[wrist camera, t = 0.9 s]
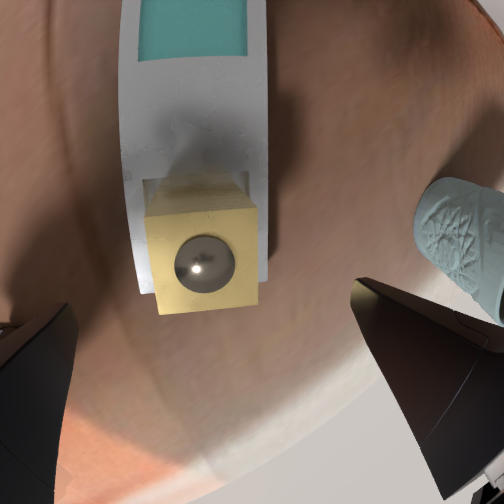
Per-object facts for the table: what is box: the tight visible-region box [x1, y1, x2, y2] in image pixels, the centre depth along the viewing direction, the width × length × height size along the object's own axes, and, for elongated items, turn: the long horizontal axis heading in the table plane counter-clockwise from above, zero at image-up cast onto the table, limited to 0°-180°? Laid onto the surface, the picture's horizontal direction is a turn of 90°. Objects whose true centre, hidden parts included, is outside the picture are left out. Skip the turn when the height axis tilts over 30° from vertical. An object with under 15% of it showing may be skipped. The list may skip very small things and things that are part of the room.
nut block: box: [144, 181, 258, 315], centre depth 17 cm, size 5×5×7 cm
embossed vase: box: [413, 177, 504, 327], centre depth 20 cm, size 10×10×12 cm
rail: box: [118, 0, 268, 294], centre depth 17 cm, size 23×9×2 cm, turn 1°
